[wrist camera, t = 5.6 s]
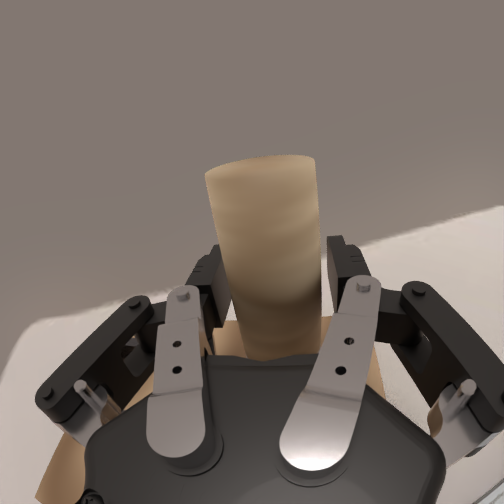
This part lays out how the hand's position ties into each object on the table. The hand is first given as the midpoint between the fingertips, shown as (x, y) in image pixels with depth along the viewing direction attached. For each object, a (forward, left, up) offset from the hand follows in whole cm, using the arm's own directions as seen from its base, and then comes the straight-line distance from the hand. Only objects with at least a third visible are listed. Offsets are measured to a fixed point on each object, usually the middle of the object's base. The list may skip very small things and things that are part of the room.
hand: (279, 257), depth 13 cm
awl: (0, +3, -7) cm, 7 cm away
